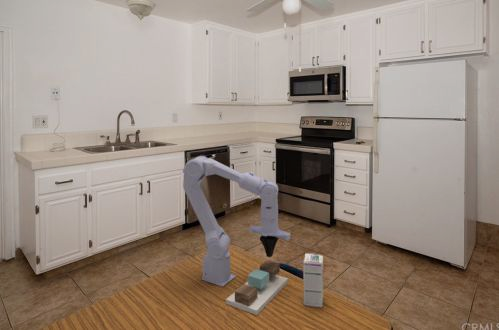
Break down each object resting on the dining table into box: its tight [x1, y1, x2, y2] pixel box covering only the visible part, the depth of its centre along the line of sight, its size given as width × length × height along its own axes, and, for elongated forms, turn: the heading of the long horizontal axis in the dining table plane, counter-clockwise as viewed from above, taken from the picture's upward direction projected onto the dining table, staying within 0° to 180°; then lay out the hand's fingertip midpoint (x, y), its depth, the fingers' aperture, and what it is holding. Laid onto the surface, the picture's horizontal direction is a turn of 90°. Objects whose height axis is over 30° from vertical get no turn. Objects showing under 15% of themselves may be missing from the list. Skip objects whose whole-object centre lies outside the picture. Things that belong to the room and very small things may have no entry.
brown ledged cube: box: [234, 283, 257, 306], centre depth 98 cm, size 5×5×3 cm
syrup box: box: [302, 253, 324, 308], centre depth 98 cm, size 6×6×14 cm
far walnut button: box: [259, 259, 281, 278], centre depth 110 cm, size 5×5×3 cm
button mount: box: [225, 274, 289, 316], centre depth 104 cm, size 11×21×4 cm, turn 148°
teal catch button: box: [247, 268, 269, 289], centre depth 104 cm, size 5×5×3 cm
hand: (269, 255), depth 109 cm, fingers closed
